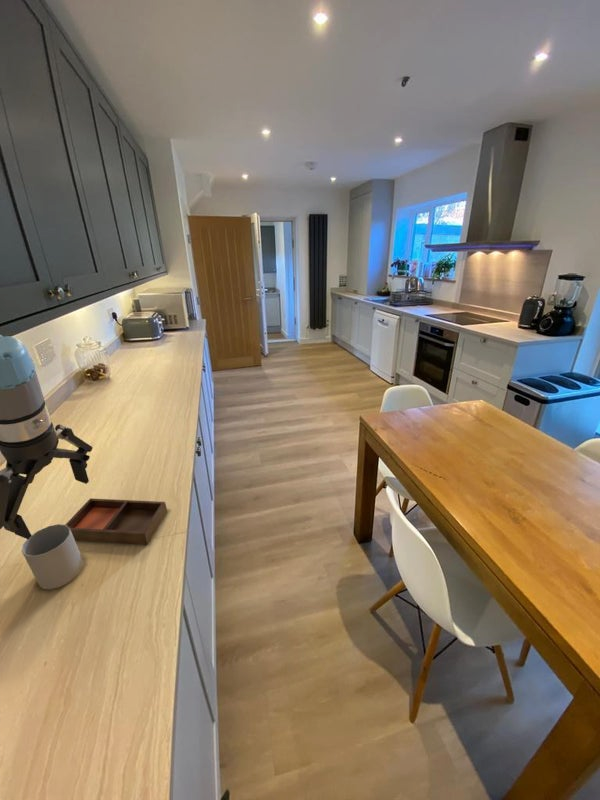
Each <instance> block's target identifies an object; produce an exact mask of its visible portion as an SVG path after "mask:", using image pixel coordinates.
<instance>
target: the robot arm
mask: <svg viewBox="0 0 600 800" xmlns="http://www.w3.org/2000/svg"><path fill="white" fill-rule="evenodd" d="M60 440H63V441H66V442H68V443H69V444H71V445H72V446H74V447H76V448H77V450H73V449H67V448H60V447H59V448H58V446H59V441H60ZM92 450H93V446H92V445H90V444H89V443H87V442H86V441H84V440H83V439H81V438H80V437H78V436H77V435H75V434H74V430H73V429H72V428H70V427H67V426H65V425H62V424H57V425H56V426H55V427H54V424H53V422H52V418H51V415H50V412H49V410H48V407H47V403H46V401H45V397H44V394H43V390H42V388H41V385H40V381H39V378H38V374H37V372H36V366H35V362H33V358H32V357H31V355H30V354H29V350H28V349H27V347H26V345H25V344H24V343H23V342H22V341H21V340H19V339H18V338H16V337H13V336H11V335H10V336H9V335H8V336H7V335H6V336H3V335H2V334H0V453H1V455H2V457H3V458H4V460H5V461H6V463H5V467H4V468H2V469H1V470H0V530H1V529H2V528H3V529H4V530H6V531H8V532H10V533H14V535H16V536H18V537H21V538H24V539H25V540H27V539H29V538H30V537H31V536H32V535H33V534H31V532H30V530H29V528H28V526H27V524H26V521H24V518H23V516H22V515H20V514H18V512H19V510H20V507H21V505H22V502H23V499H24V497H25V494H26V492H27V489H28V487H29V485H30V484H32V483H33V482H34V480H35V477H36V475H37V474H39V473H40V472H41V471H43V469H44V468H46V467H47V466H49V465H50V464H51V463H52V461H53V459H68V462H69V464H70V468H71V471H72V474H73V478H74V480H75V481H77V482H80V483H83V484H85V485H87V484H88V483H90V480H89V476H88V472H87V470H86V469H87V468H88V463H87V462H88V461H89V460H90V457H91V456H90V455H88V453H91V452H92Z"/></svg>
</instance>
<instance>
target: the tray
mask: <svg viewBox="0 0 600 800" xmlns="http://www.w3.org/2000/svg"><path fill="white" fill-rule="evenodd" d="M166 503H167V502H166V501H156V500H132V499H109V498H93V497H91V498H89V499H88V500H87V501H86V502H85V503H83V505H82V506H81V507H80V509H79V510H78V511H77V512H76V513H75V514H74V515H73V516H72V517H71V518H70V519H69V520H68V521H67V522H66V523H65V524H64V525H67V526H68V527H69V528H70V530H71V532H72V535H73V537H74V540H75V542H76V541H78V542H96V543H97V542H98V543H113V544H130V545H131V544H133V545H149V544H150V541H151V540H152V538H153V536H154V535H155V533H156V532H157V530H158V528H159V526H160V525H161V523H162V521H163V520H164V518H165V517H166V515H167V513H168V507H167V504H166Z"/></svg>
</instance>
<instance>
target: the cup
mask: <svg viewBox="0 0 600 800" xmlns="http://www.w3.org/2000/svg"><path fill="white" fill-rule="evenodd" d="M31 535H32V536H31V537H30V538H29V539H25V541H24V542H23V544H22V547H21V553H22V555H23V557H24V559H25V561H26V563H27V565H28V567H29V569H30V570H31V572H32V575H33V576H34V579H35V580H36V582H37V584H38V586H39V587H40V588H41V589H43V590H54V589H59V588H61V587H63V586H65V585H66V584H68V583H70V582H72V581H73V580H74V579H75V578H76V577H77V576H78V575H79V574H80V573H81V570H82V569H83V567H84V559H83V556H82V554H81V552H80V550H79V547H78V544H77V542H76V540H74V537H73V535H72V532H71V530H70V528H69V527H68V526H67V525H65V524H61V523H58V524H53V525H52V524H51V525H49V526H46V527H44V528H41V529H39V530H37V531H36V532H34V533H33V534H31Z"/></svg>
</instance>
